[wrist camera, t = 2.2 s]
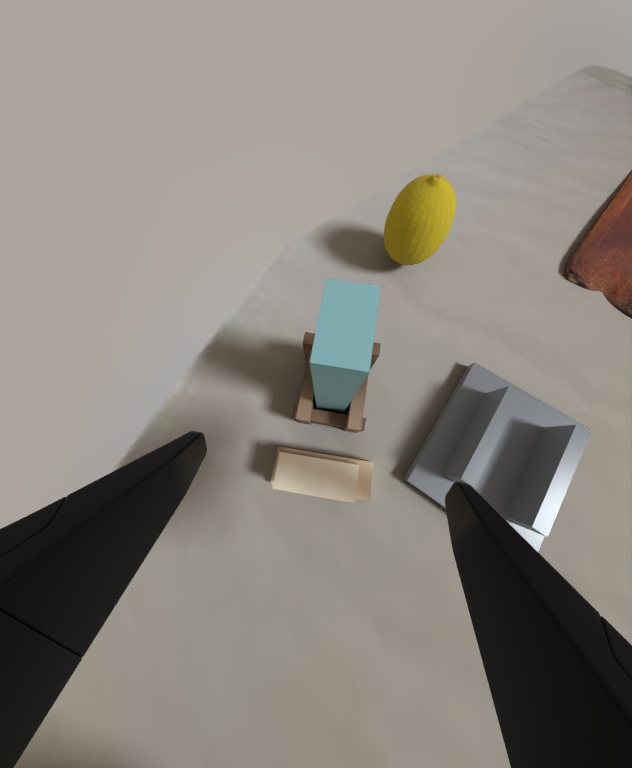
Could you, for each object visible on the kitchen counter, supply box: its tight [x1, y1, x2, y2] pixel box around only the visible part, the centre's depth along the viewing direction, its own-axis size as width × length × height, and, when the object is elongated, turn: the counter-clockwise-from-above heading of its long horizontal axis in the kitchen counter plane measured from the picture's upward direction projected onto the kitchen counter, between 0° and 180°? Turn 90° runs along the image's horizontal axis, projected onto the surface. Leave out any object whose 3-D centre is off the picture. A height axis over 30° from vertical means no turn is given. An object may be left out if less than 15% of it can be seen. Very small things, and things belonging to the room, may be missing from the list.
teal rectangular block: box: [310, 279, 381, 413], centre depth 15 cm, size 4×2×12 cm, turn 170°
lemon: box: [384, 174, 456, 265], centre depth 21 cm, size 6×6×8 cm
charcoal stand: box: [403, 363, 590, 552], centre depth 18 cm, size 12×10×4 cm
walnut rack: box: [293, 332, 380, 433], centre depth 19 cm, size 7×6×4 cm
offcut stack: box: [270, 446, 373, 503], centre depth 18 cm, size 3×8×3 cm, turn 81°
